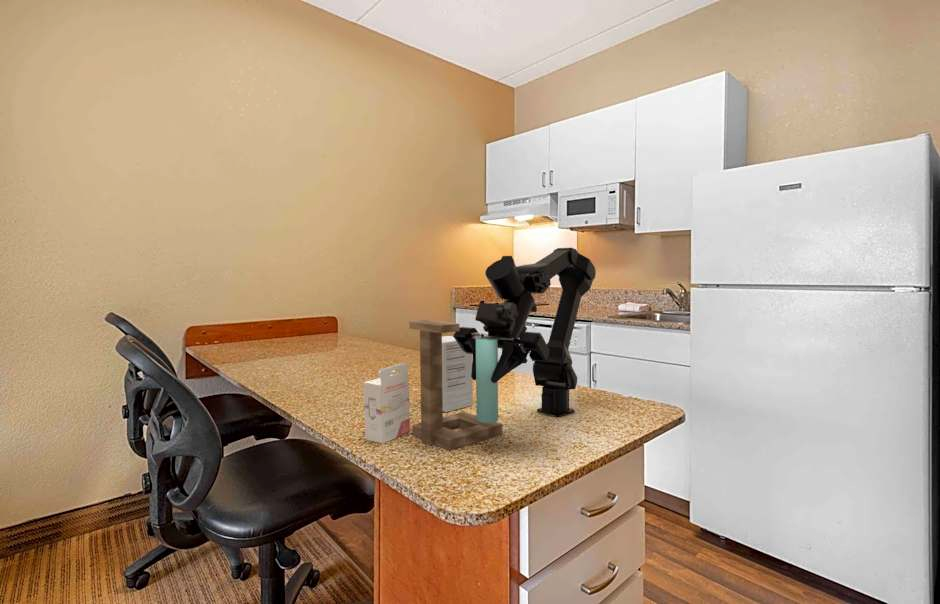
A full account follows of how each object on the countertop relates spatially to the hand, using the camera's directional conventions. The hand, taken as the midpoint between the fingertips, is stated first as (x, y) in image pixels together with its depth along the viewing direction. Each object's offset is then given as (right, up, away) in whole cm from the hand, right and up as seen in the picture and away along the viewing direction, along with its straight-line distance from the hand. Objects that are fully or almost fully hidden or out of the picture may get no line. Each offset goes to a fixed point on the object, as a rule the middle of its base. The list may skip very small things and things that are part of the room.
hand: (482, 380), depth 87 cm
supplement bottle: (-22, -12, +25) cm, 36 cm away
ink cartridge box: (-19, -13, +10) cm, 25 cm away
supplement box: (-8, -12, +32) cm, 35 cm away
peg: (+1, -8, +2) cm, 8 cm away
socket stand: (-5, -13, +11) cm, 18 cm away
